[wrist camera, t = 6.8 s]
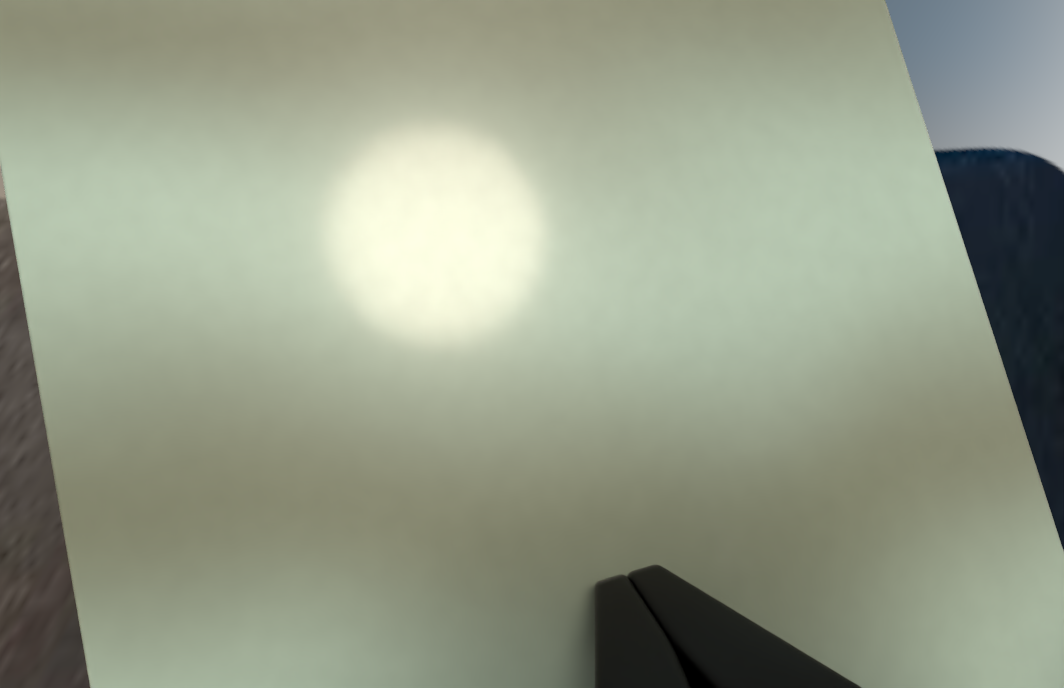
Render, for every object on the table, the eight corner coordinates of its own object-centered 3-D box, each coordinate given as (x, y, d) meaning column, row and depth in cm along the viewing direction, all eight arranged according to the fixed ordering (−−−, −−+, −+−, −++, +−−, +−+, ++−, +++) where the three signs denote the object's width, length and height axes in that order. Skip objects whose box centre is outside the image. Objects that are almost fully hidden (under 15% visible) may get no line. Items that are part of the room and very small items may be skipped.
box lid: (10, 14, 9) (-35, -28, 8) (813, -96, 10) (841, -138, 10) (241, 1312, 7) (214, 1423, 6) (1133, 915, 9) (1199, 963, 8)
